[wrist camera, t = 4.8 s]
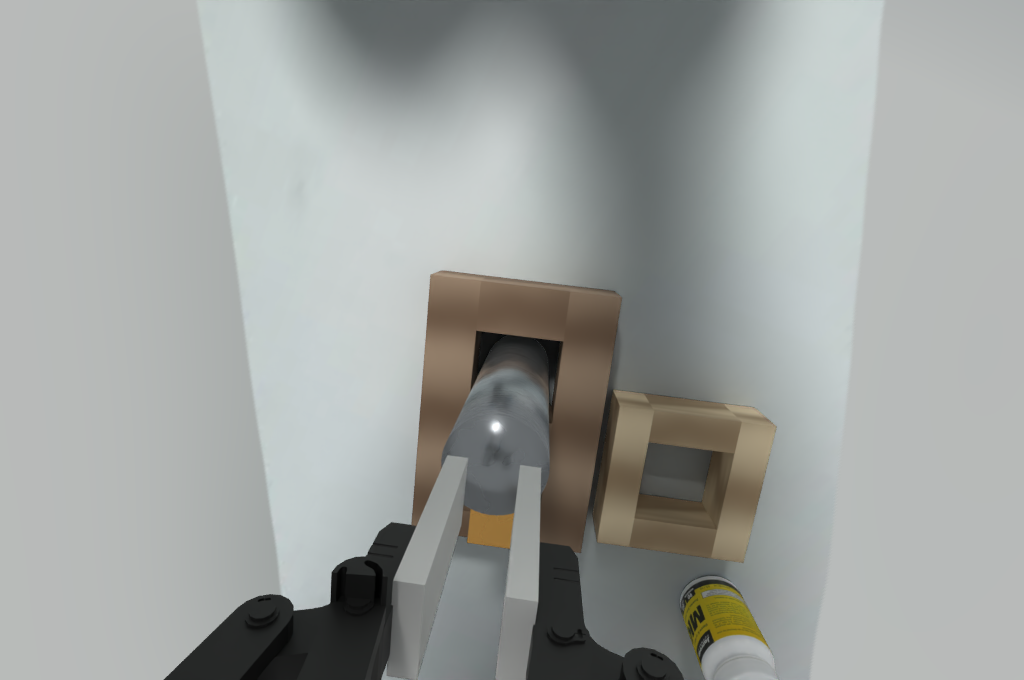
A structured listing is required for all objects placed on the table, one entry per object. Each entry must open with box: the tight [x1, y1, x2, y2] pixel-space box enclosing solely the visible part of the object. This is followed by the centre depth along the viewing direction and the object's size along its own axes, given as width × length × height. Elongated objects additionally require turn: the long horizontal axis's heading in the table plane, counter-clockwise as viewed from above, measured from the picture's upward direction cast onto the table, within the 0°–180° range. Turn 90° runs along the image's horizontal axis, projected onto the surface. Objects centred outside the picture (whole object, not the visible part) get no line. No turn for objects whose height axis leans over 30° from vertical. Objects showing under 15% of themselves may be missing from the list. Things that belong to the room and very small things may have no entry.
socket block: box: [412, 271, 622, 553], centre depth 35 cm, size 18×12×4 cm, turn 174°
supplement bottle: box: [680, 576, 779, 680], centre depth 35 cm, size 5×5×8 cm
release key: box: [467, 509, 514, 549], centre depth 33 cm, size 3×3×7 cm
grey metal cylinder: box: [441, 335, 550, 515], centre depth 28 cm, size 4×4×16 cm
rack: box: [593, 390, 777, 563], centre depth 35 cm, size 10×10×4 cm
